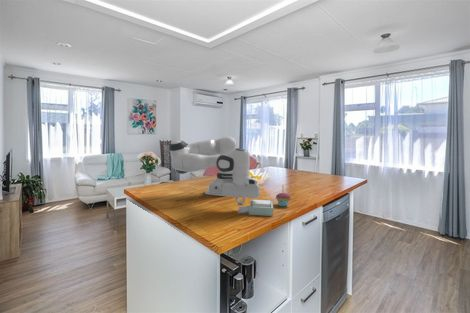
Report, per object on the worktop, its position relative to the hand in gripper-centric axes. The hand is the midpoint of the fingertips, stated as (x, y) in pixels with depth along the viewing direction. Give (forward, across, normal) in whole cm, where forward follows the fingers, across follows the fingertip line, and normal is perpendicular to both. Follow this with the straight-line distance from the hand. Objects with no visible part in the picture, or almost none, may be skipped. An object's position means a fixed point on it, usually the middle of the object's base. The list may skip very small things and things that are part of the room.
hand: (240, 205), depth 127 cm
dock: (+4, +8, 0) cm, 9 cm away
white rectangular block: (+2, +11, -1) cm, 11 cm away
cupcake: (+3, +24, +14) cm, 28 cm away
